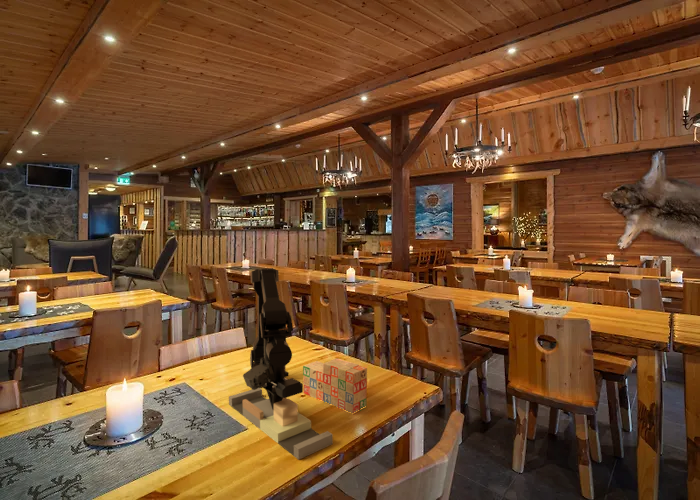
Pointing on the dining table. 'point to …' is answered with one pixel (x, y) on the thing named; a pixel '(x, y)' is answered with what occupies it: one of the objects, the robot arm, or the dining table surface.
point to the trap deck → (291, 436)
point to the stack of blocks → (337, 383)
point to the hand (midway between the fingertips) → (275, 409)
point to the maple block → (285, 412)
